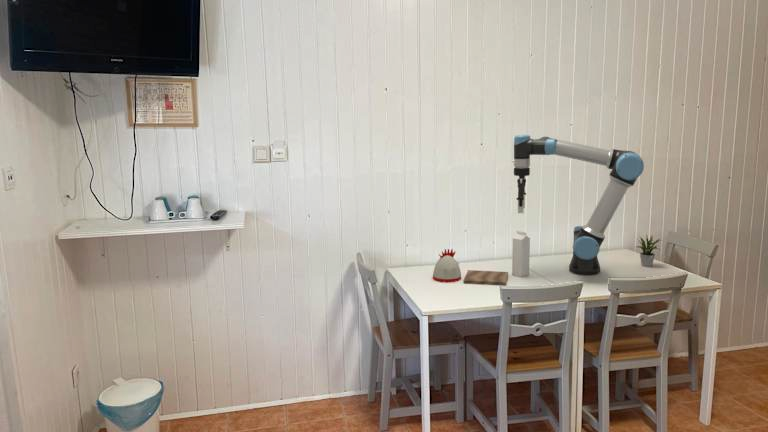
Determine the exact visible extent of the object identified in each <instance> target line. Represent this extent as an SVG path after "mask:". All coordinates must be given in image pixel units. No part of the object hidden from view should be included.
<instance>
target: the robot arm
mask: <svg viewBox="0 0 768 432" xmlns="http://www.w3.org/2000/svg"><path fill="white" fill-rule="evenodd" d="M513 139H514V140H513V160H512V163H513V167H514V168H513V175H514V176H516V177H518V178H517V188H518V190H517V191H518V192H517V197H516V200H517V214H524V213H525V211H524V209H525V208H526V207H525V206H526V205H525V204H526V203H525V202H526V197H525V196H526V195H527V192H526V191H525V189H526V182H527V179H526V177H528V176H530V173H531V168H530V166H531V156H533V155H534V156H535V155H536V156H538V155H539V156H543V155H544V156H550V155H551V156H553V155H555V156H559V157H562V158H563V157H565V158H568V159H573V160H577V161H582V162H586V163H590V164H595V165H601V166H605V167H606V169H609V170H611V171H610V173H609V175H608V176H609V179H610V180H609V182H608V183H607V185H606V188H605V190H604V191H603V193H602V195H601V197H600V198H599V201H598V202H597V205H596V206H595V208H594V210H593V212H592V214H591V216H590V218H589V219H588V222H587V223H586V224H585V225H577V226H574V227H573V231H572V232H573V242H572V244H573V245H572V258H571V259H570V262H569V265H568V271H569V272H570V273H571V274H575V275H581V276H593V275H595V276H596V275H599V274H600V273H601V264H600V262H599V258H598V255H599V253H600V248H601V246H602V243H603V242H604V241H605V239H606V236H605V232H606V230H607V228H608V226H609V224H610V222H611V221H612V219H613V216H614V215H615V213H616V211H617V209H618V208H619V205H620V204H621V202H622V200H623V198H624V196H625V194H626V193H627V190H628V189H629V188H630V187H634V185H635V183H636V181H637V179H638V178H639V177H640V176H641V175H642V174H643V172H644V168H645V163H644V161H643V158H642V157H641V156H640V155H639V154H638V153H637V152H635V151H632V150H620V149H616V148H615V149H614V148H612V149H609V150H608V149H604V148H600V147H594V146H590V145H586V144H585V145H584V144H580V143H575V142H571V141H566V140H561V139H556V138H552V137H549V136H542V137H540V138H535V139H534V138H532V137H531V135H530V134H518V135H515V136H514V138H513Z"/></svg>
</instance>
